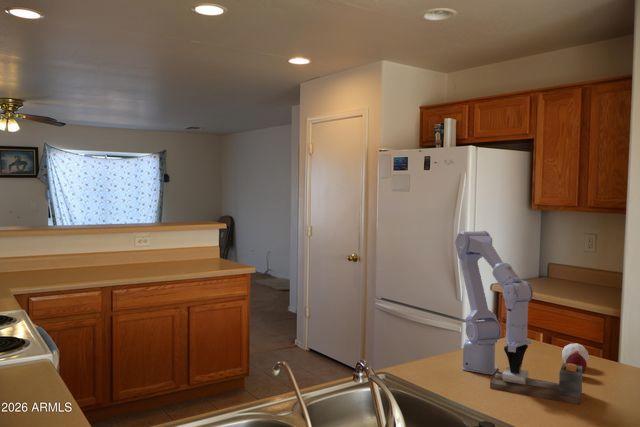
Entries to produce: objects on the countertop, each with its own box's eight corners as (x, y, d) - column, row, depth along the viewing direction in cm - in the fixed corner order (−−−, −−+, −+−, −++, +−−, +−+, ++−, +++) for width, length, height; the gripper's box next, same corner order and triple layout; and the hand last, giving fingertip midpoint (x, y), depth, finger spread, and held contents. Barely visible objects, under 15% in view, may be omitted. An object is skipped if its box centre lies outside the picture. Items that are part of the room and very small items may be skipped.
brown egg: (565, 379, 146) (565, 365, 146) (566, 376, 149) (566, 362, 149) (575, 380, 145) (576, 367, 145) (576, 378, 147) (576, 364, 147)
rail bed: (490, 387, 153) (490, 361, 153) (497, 377, 162) (497, 352, 161) (579, 404, 142) (580, 376, 141) (581, 392, 150) (582, 365, 150)
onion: (588, 380, 160) (589, 354, 160) (568, 378, 161) (568, 352, 161) (583, 374, 166) (584, 348, 166) (563, 372, 167) (564, 347, 167)
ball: (575, 377, 171) (569, 360, 167) (560, 361, 178) (554, 345, 175) (596, 366, 171) (591, 349, 167) (580, 350, 178) (574, 334, 174)
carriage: (502, 382, 153) (502, 359, 152) (506, 374, 159) (507, 353, 158) (524, 386, 150) (524, 363, 149) (528, 378, 156) (528, 356, 156)
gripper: (527, 331, 145) (526, 380, 146) (535, 320, 158) (534, 366, 158) (500, 327, 149) (499, 376, 149) (510, 317, 161) (509, 362, 162)
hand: (515, 370), depth 154 cm, fingers closed on carriage, 2 cm apart
